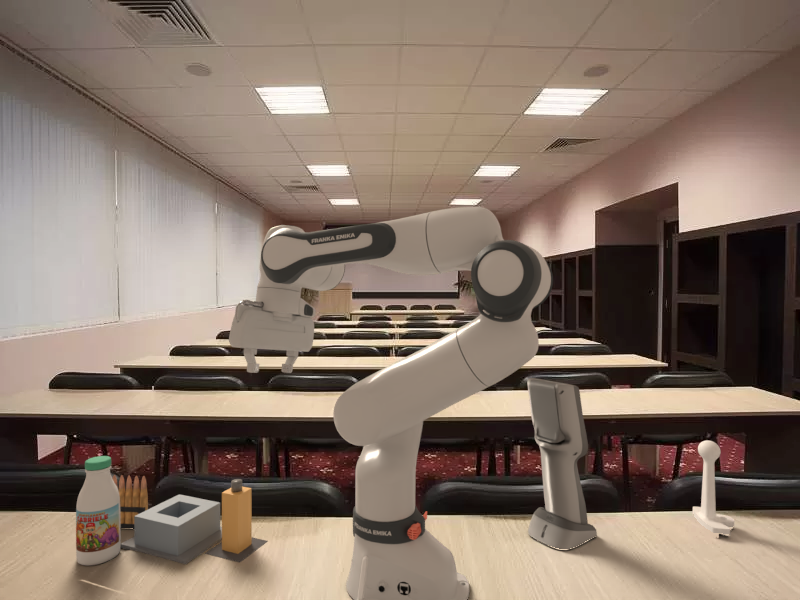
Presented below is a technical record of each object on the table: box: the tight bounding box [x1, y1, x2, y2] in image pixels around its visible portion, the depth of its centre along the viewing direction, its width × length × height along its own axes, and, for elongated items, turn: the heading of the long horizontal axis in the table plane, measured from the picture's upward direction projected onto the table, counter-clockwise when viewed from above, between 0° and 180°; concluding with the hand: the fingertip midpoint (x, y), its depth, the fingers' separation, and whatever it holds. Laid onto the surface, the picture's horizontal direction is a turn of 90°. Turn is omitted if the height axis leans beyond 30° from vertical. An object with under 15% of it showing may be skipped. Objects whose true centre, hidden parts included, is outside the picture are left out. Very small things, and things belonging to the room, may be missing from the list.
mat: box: [203, 536, 269, 563], centre depth 103 cm, size 9×9×1 cm
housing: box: [120, 494, 222, 565], centre depth 107 cm, size 18×14×7 cm
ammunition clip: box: [112, 474, 150, 530], centre depth 112 cm, size 11×2×12 cm, turn 86°
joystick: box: [692, 439, 735, 535], centre depth 113 cm, size 11×8×20 cm
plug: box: [221, 478, 253, 554], centre depth 103 cm, size 4×4×14 cm
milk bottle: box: [75, 455, 122, 566], centre depth 100 cm, size 8×8×20 cm
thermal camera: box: [527, 377, 598, 549], centre depth 109 cm, size 12×13×35 cm
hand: (270, 372), depth 99 cm, fingers open, 8 cm apart
